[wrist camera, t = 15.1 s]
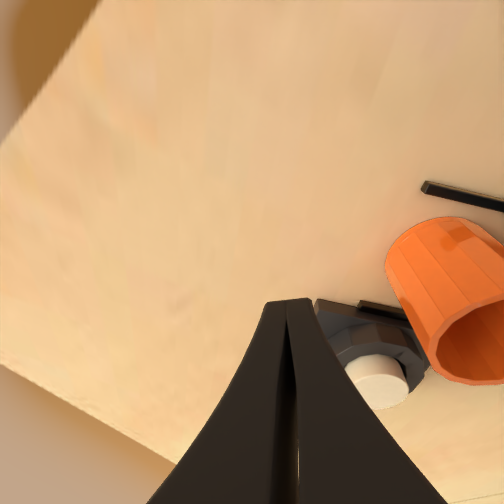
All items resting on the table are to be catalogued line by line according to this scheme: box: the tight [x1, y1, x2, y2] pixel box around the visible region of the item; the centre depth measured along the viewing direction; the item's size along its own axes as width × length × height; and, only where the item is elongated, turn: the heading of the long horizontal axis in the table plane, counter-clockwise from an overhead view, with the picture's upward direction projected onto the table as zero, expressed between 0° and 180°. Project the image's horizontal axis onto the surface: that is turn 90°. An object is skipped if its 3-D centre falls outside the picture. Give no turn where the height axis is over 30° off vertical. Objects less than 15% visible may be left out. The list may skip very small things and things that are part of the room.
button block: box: [314, 299, 431, 394], centre depth 23 cm, size 10×7×3 cm
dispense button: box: [344, 354, 409, 410], centre depth 21 cm, size 4×4×2 cm
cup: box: [385, 217, 504, 386], centre depth 17 cm, size 6×6×7 cm
